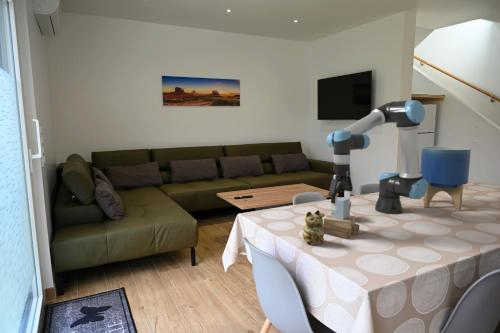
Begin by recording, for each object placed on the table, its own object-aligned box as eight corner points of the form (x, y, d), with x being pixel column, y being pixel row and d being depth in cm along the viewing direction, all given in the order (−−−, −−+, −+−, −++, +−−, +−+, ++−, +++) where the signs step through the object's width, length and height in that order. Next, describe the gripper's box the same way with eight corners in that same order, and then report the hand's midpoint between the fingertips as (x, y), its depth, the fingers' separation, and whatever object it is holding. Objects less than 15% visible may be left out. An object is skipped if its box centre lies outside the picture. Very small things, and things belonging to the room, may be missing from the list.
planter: (439, 199, 224) (443, 145, 219) (476, 209, 199) (481, 148, 194) (408, 202, 216) (412, 147, 211) (443, 213, 191) (448, 150, 186)
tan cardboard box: (332, 226, 170) (333, 219, 169) (359, 232, 160) (359, 224, 160) (319, 233, 159) (319, 225, 159) (346, 240, 150) (346, 232, 149)
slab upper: (330, 220, 167) (331, 212, 166) (355, 223, 161) (355, 216, 160) (323, 227, 157) (323, 219, 156) (349, 231, 151) (349, 222, 150)
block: (337, 215, 162) (337, 197, 161) (348, 217, 158) (349, 198, 157) (331, 217, 158) (331, 199, 157) (343, 219, 154) (343, 201, 153)
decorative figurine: (308, 246, 141) (308, 213, 139) (298, 240, 149) (298, 208, 147) (326, 243, 145) (327, 210, 143) (315, 237, 153) (316, 206, 151)
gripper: (346, 160, 167) (345, 200, 170) (321, 165, 148) (320, 211, 151) (360, 161, 162) (359, 203, 165) (336, 167, 143) (335, 213, 146)
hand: (340, 206), depth 158 cm, fingers open, 13 cm apart
